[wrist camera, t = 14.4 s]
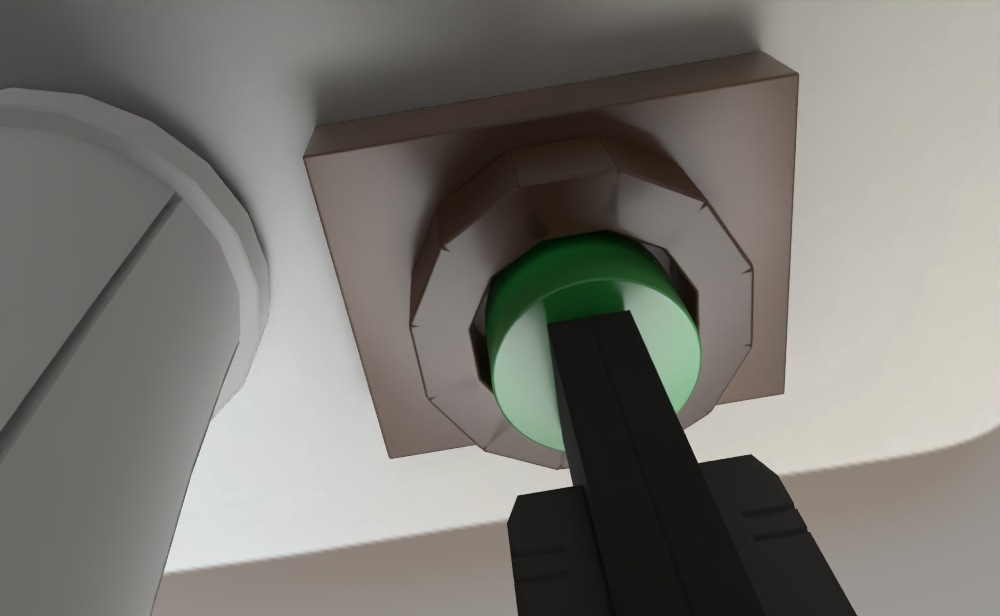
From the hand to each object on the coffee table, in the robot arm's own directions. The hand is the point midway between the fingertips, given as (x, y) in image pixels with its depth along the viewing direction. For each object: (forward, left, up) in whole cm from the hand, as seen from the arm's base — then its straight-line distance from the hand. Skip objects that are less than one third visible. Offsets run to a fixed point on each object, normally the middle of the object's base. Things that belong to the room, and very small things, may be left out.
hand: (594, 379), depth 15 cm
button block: (0, 0, -6) cm, 6 cm away
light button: (0, 0, -2) cm, 2 cm away
